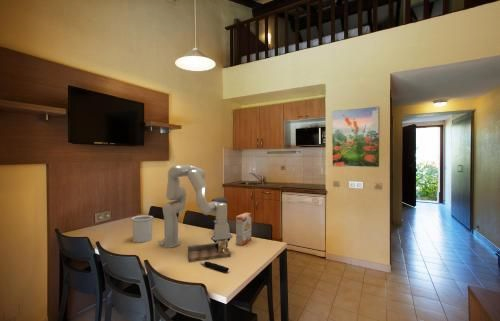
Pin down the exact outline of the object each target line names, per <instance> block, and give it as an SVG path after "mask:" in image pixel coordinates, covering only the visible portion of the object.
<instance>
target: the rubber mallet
mask: <svg viewBox="0 0 500 321" xmlns="http://www.w3.org/2000/svg"><path fill="white" fill-rule="evenodd" d="M213 201H215V202H219V203H226V204H228V199H227V198H226V197H224V196H221V197H215V198H212V199H211V201H210V202H213Z"/></svg>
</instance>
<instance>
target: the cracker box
mask: <svg viewBox="0 0 500 321" xmlns="http://www.w3.org/2000/svg"><path fill="white" fill-rule="evenodd" d="M235 223H236V224H235V226H236V227H235V229H236V230H235V244H236V245H238V246H244V245H246V244H247V243H249V242H250V241H252V213H251V212H244V213H242V214H239V215H236V216H235Z"/></svg>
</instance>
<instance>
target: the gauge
mask: <svg viewBox="0 0 500 321" xmlns="http://www.w3.org/2000/svg"><path fill="white" fill-rule="evenodd" d="M218 251H219V252H220V251H223V253H225V251H226V239H222V240H218Z"/></svg>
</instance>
